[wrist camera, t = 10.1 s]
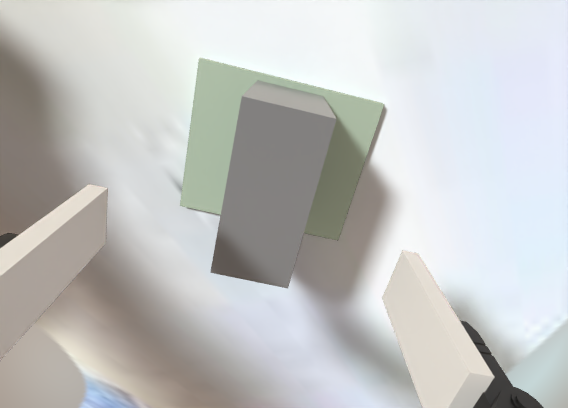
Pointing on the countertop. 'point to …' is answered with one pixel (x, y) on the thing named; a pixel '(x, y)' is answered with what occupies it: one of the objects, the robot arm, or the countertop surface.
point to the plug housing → (271, 182)
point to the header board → (221, 131)
